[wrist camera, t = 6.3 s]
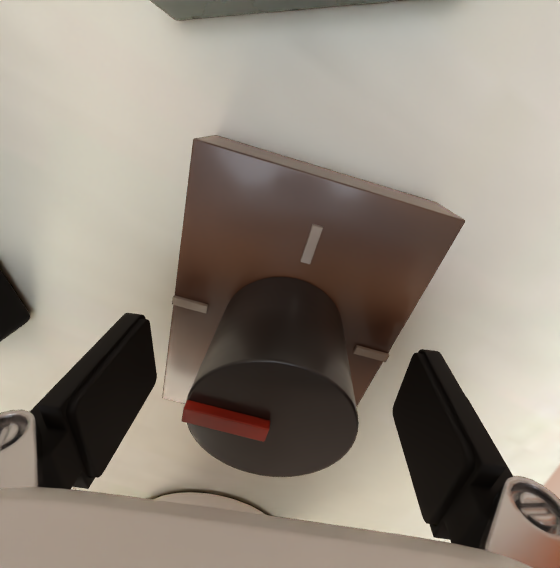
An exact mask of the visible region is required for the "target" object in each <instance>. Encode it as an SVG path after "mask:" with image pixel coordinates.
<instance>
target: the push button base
mask: <svg viewBox="0 0 560 568" xmlns="http://www.w3.org/2000/svg"><path fill="white" fill-rule="evenodd" d="M150 1H151V2H152V3H154V4H155V5H156V6H158V7H159V8H160V9H162V10H163V11H164V12H165V13H167V14H168V15H169V16H171V17H172V18H173V19H175V20H185V19H196V18H208V17H219V16H230V15H242V14H253V13H264V12H276V11H287V10H298V9H309V8H321V7H332V6H343V5H355V4H366V3H377V2H389V1H400V0H150Z"/></svg>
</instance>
